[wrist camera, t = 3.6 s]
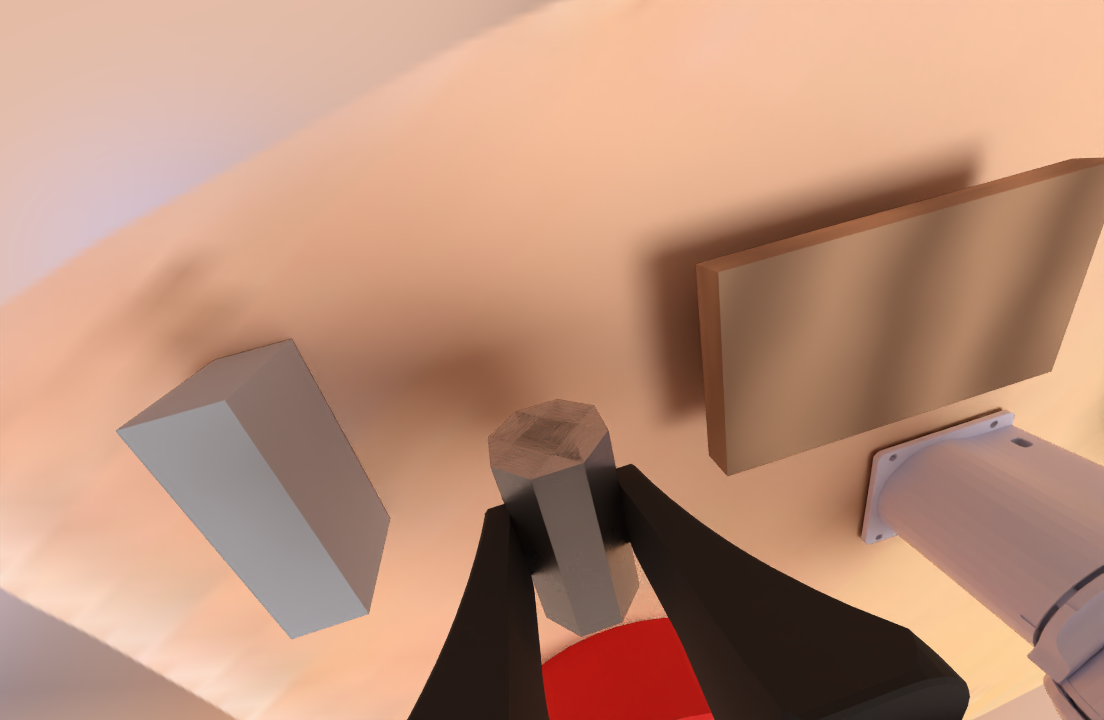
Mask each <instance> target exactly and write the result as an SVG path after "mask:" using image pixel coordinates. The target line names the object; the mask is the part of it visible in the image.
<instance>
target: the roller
mask: <svg viewBox="0 0 1104 720" xmlns="http://www.w3.org/2000/svg"><path fill="white" fill-rule="evenodd" d="M488 443H489V454H490V466H491V469H492V472H493V475H494V477H495V480H496V483H497V485H498V488H499V491H500V493H501V496H502V499H503V501H504V504H505V507H506V510H507V512H508V515H509V516H510V518H511V521H512V524H513V526H514V529H515V532H516V534H517V537H518V540H519V543H520V545H521V548H522V551H523V553H524V556H525V559H526V562H527V564H528V567H529V570H530V572H531V575H532V580H533V582H534V585H535V588H536V590H537V593H538V596H539V598H540V601H541V604H542V607H543V609H544V612H545V615H546V617H547V618H549V619H550V620H552V621H554V622H556V623H558V624H559V625H561V626H563V627H565V628H567V629H568V630H570V631H572V632H574V633H576V634H577V635H579V636H581V637H582V636H585V635H588V634H590V633H593V632H596V631H599V630H602V629H605V628H608V627H611V626H613V625H616V624H619V623H622V622H623V620H624V618H625V615H626V613H627V611H628V609H629V607H630V605H631V603H632V600H633V598H634V596H635V594H636V592H637V590H638V587H639V581H638V576H637V571H636V566H635V561H634V556H633V551H632V546H631V543H630V539H629V534H628V529H627V524H626V519H625V514H624V509H623V504H622V499H621V494H620V489H619V484H618V476H617V471H616V466H615V461H614V456H613V451H612V446H611V441H610V436H609V431H608V429H607V427H606V425H605V423H604V422H603V420H602V418H601V416H600V415H599V413H598V411H597V409H596V408H595V406H594V405H589V404H583V403H577V402H571V401H565V400H559V399H556V400H553V401H549V402H546V403H543V404H539V405H536V406H532V407H529V408H526V409H522V410H519V411H516V412H515V413H514V414H513V415H512V416H511V417H510V418H508V419H507V420H506V421H505V422H504V423H503V424H502V425H501V426H500V427H499V428H498V429H497V430H496V431H494V432H493V433H492V434H491V435H490V436H489V437H488Z"/></svg>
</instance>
